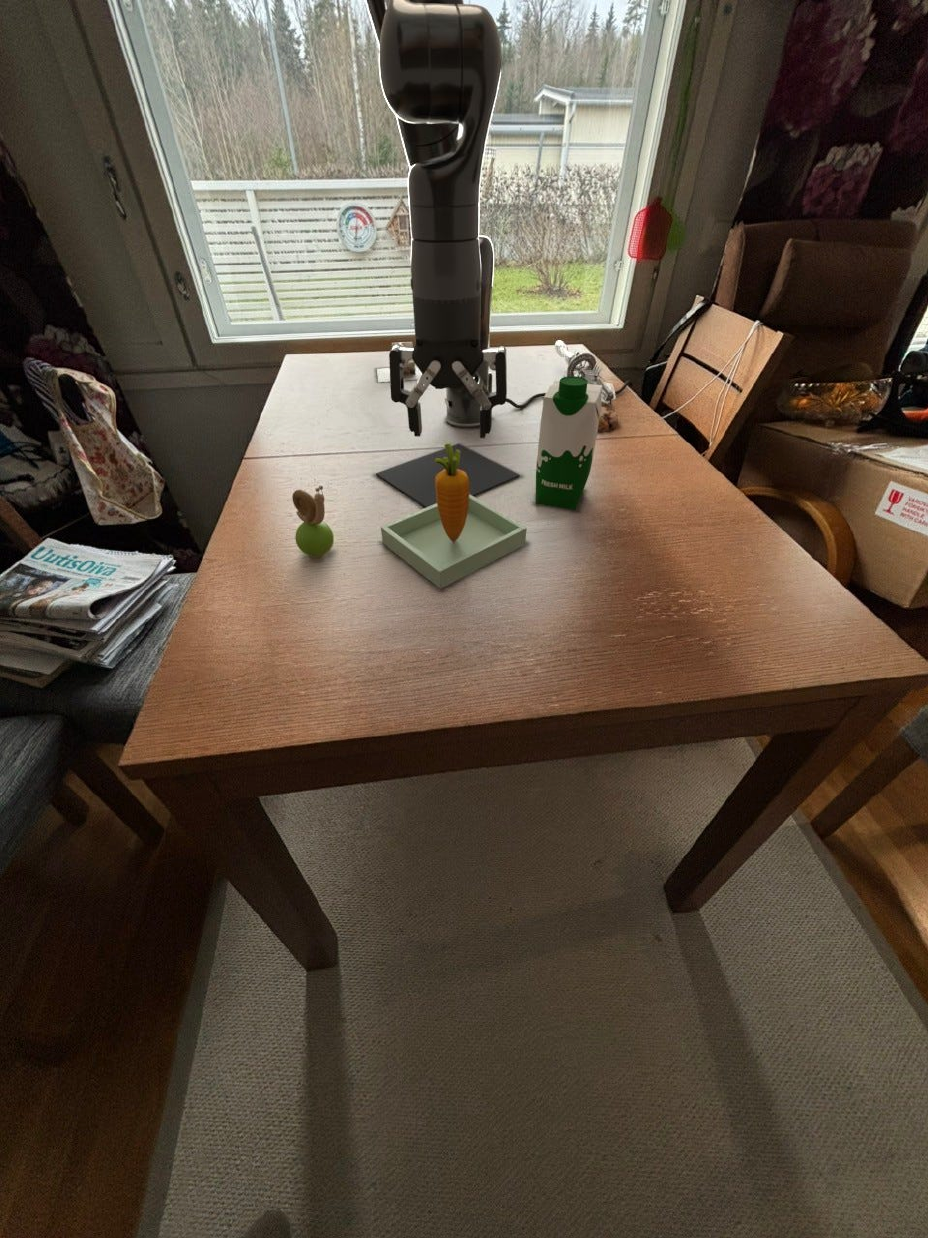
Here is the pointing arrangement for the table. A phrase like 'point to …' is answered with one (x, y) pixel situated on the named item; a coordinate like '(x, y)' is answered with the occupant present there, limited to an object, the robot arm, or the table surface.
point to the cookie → (607, 420)
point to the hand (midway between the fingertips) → (450, 435)
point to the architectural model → (409, 372)
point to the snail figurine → (312, 523)
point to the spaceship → (585, 370)
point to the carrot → (452, 494)
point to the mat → (422, 471)
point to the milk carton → (567, 441)
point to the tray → (443, 558)
